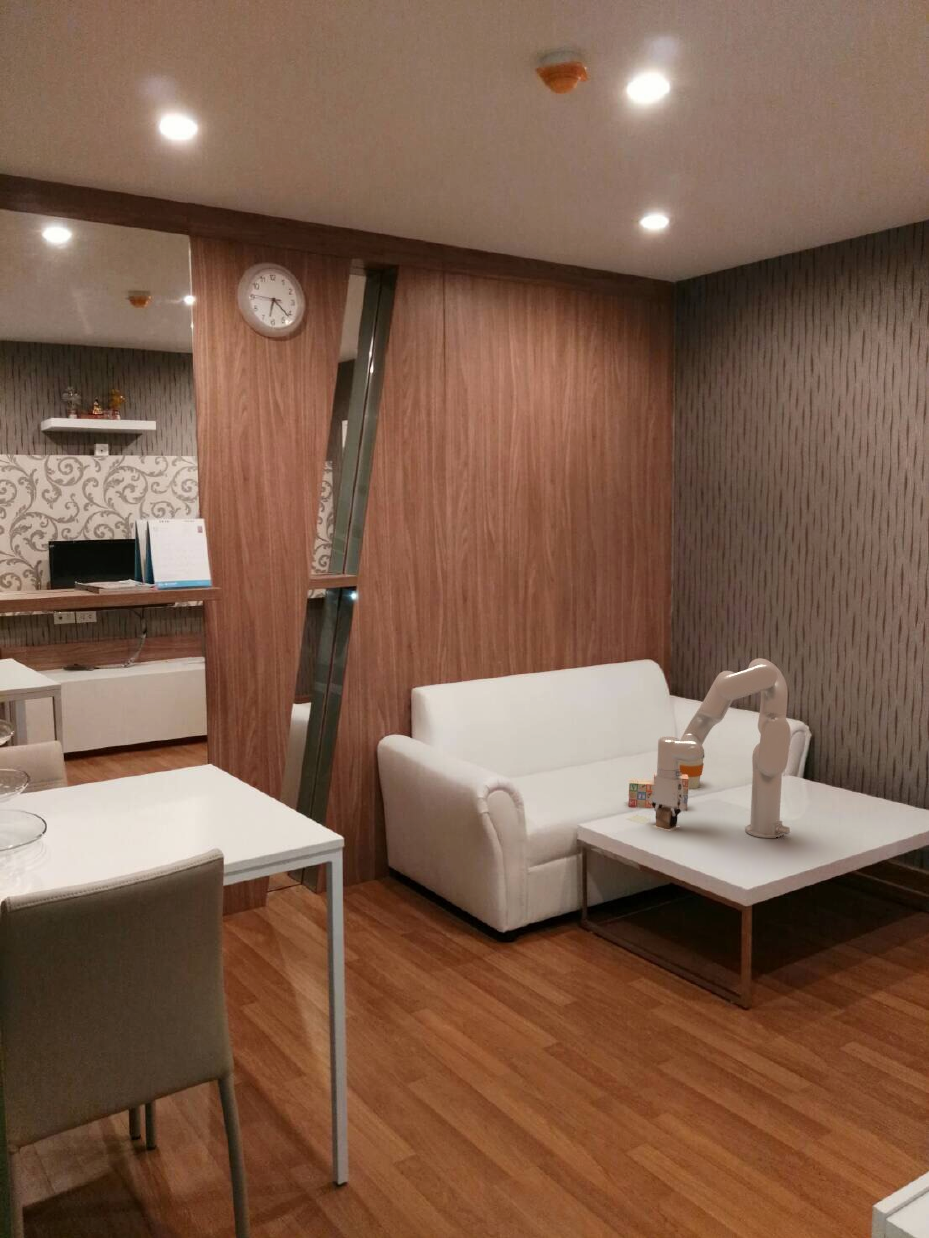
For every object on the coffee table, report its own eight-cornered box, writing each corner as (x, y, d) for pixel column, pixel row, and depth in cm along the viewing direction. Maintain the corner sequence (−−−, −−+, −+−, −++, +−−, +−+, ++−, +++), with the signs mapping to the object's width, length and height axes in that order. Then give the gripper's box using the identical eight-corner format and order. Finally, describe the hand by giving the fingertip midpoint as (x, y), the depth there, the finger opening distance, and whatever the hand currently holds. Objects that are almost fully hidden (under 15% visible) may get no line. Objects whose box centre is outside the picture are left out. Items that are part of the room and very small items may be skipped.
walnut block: (676, 826, 350) (676, 809, 350) (668, 829, 347) (669, 812, 346) (663, 822, 354) (664, 806, 353) (656, 826, 350) (656, 809, 349)
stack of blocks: (628, 807, 372) (629, 774, 371) (628, 802, 379) (629, 770, 377) (687, 811, 369) (688, 778, 367) (686, 806, 375) (688, 773, 373)
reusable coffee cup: (685, 791, 393) (687, 754, 391) (664, 783, 404) (665, 746, 402) (710, 787, 399) (711, 750, 397) (688, 779, 410) (690, 743, 408)
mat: (690, 825, 353) (690, 824, 353) (665, 835, 341) (666, 834, 341) (640, 811, 367) (640, 810, 367) (614, 821, 355) (614, 820, 355)
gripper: (695, 775, 345) (693, 827, 347) (653, 766, 356) (651, 816, 359) (683, 780, 339) (681, 832, 342) (641, 770, 351) (639, 820, 353)
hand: (666, 823), depth 350 cm, fingers closed on walnut block, 5 cm apart
